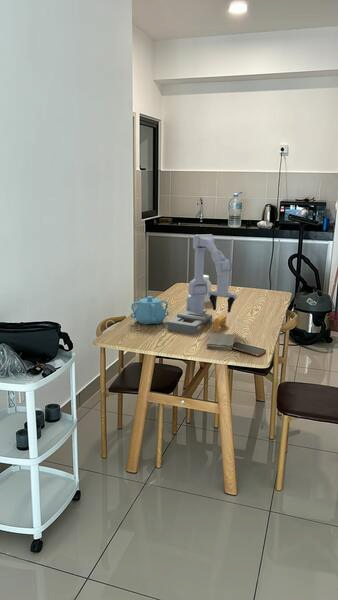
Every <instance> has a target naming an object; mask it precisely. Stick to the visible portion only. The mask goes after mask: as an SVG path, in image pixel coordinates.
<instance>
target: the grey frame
mask: <svg viewBox="0 0 338 600" xmlns="http://www.w3.org/2000/svg"><path fill="white" fill-rule="evenodd" d="M182 320H183V321H182ZM186 321H190V322H186ZM212 321H213V314H209V313H196V312H189V311H186V310H185V311H183V312H181V313H179V312H178V313H177V314H176V316H175V317H173V318H171V319H170V320H168V321H167V322H166V324H167V325H166V331H167V330H169V331H172V332H180V333H187V334H191V335H196V334H197V333H198V332H199V330H198V329H199V327H200V326H201V325H203V324H209V325H211V324H212V323H211V322H212Z"/></svg>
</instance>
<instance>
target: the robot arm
mask: <svg viewBox="0 0 338 600" xmlns="http://www.w3.org/2000/svg"><path fill="white" fill-rule="evenodd" d="M192 248H193V249H194V277H193V279H192V280H190V281H189V284H188V289H187V291H188V294H189V295H187V297H186V309H185V311H189V312H196V313H203V314H205V312H207V309H205V302H204V297H205V296H206V294H207V293H208V296H210V297H209V299H210V301H209V302H210V303H211V305H212V310H213V311H216V310H217V299H218V297H220V298H227V313H231V310H232V307H233V304H234V302H235V300H237V299H238V294H237V293H236V294H235V293H232V292H229V288H230V287H229V285H230V283H229V282H230V272H231V271H232V269H233V268H232V267H233V264H232V261H231V260H230V259H227V258H226V256H225V255H224V254H223V251H221V250H219V249H217V248H218V247H217V246H216V244H215V236H214V235H213V234H211V233H209V234H208V233H207V234H205V233H204V234H195V235H194V236H193V238H192ZM206 250H208V251H209V253H210V254H211V256H210V257H211V259H212V262H213V263H214V264H215V271H216V276H217V277H216V278H217V280H216V291H212V290H211V291H209V292H208V286H207V282H206V281H205V280H204V279H203V276H204V275H205V274H204V270H205V266H204V265H205V251H206Z"/></svg>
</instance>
